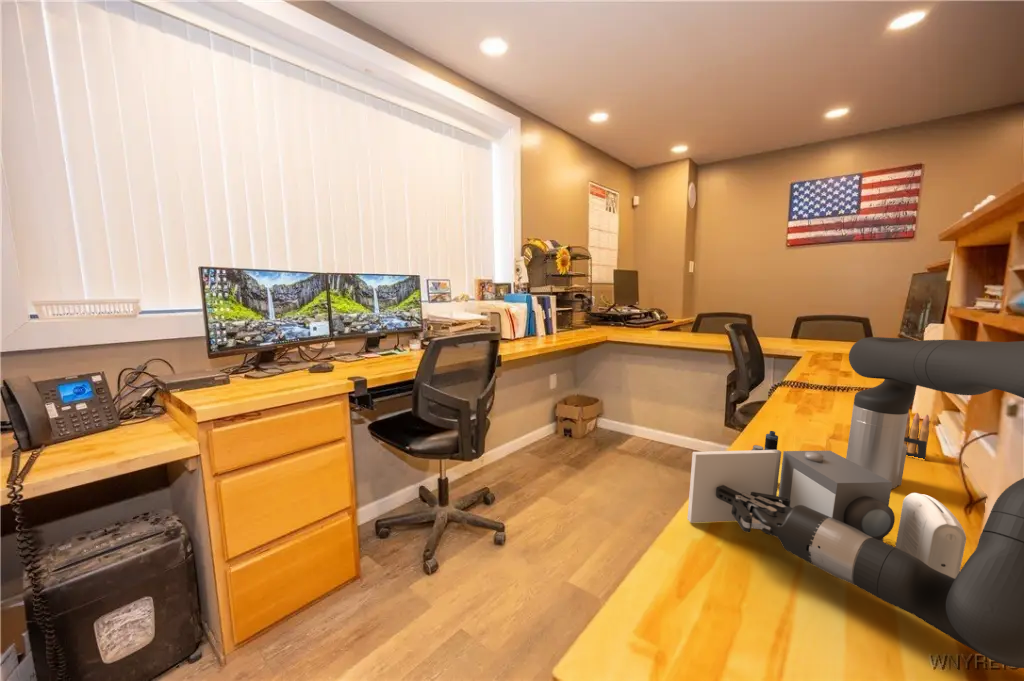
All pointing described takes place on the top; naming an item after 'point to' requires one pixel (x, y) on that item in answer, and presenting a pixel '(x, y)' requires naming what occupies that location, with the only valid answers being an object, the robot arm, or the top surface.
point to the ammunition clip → (914, 439)
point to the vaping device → (768, 442)
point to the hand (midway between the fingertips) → (718, 490)
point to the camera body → (838, 490)
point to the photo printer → (931, 534)
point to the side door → (729, 480)
